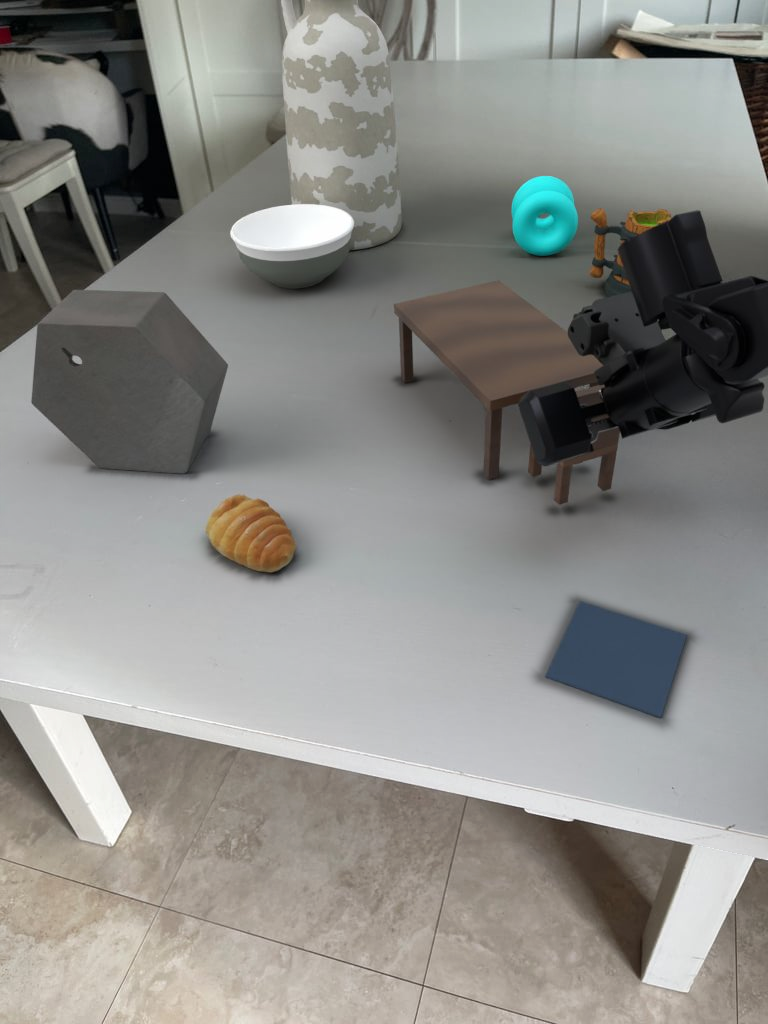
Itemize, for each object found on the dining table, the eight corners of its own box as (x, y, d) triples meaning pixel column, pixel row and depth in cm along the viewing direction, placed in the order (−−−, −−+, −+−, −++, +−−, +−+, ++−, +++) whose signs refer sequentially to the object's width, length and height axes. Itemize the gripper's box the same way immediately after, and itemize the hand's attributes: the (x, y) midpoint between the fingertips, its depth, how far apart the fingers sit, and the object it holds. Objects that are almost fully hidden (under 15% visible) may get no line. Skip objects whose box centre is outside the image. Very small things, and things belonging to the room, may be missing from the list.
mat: (686, 636, 66) (686, 634, 66) (660, 718, 60) (661, 716, 60) (579, 602, 70) (580, 601, 70) (545, 677, 64) (545, 675, 64)
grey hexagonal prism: (261, 401, 89) (126, 247, 80) (240, 441, 83) (91, 279, 74) (160, 462, 97) (26, 328, 88) (134, 502, 91) (-12, 363, 82)
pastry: (315, 552, 77) (311, 521, 74) (259, 589, 73) (253, 559, 71) (255, 510, 82) (249, 480, 79) (200, 543, 78) (192, 513, 76)
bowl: (282, 247, 136) (275, 197, 131) (379, 263, 129) (376, 211, 124) (214, 290, 124) (204, 238, 119) (317, 311, 116) (311, 256, 111)
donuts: (570, 234, 134) (576, 172, 128) (575, 258, 127) (582, 193, 120) (509, 235, 135) (512, 173, 129) (511, 259, 128) (514, 195, 121)
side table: (602, 449, 87) (614, 367, 81) (486, 483, 84) (490, 400, 77) (496, 353, 105) (499, 279, 98) (396, 378, 101) (393, 303, 95)
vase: (424, 227, 140) (420, -37, 116) (348, 261, 130) (326, -20, 106) (343, 203, 151) (323, -42, 127) (267, 233, 141) (230, -27, 117)
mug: (673, 277, 120) (688, 198, 112) (676, 307, 112) (692, 225, 105) (584, 273, 122) (592, 195, 115) (580, 302, 115) (589, 221, 107)
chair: (611, 488, 80) (628, 383, 73) (558, 505, 79) (570, 399, 71) (577, 457, 85) (590, 355, 77) (527, 472, 83) (535, 369, 75)
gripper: (742, 254, 64) (637, 326, 79) (537, 303, 59) (467, 369, 74) (789, 386, 63) (674, 433, 79) (586, 446, 59) (505, 484, 74)
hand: (582, 427), depth 76 cm, fingers closed on chair, 6 cm apart
